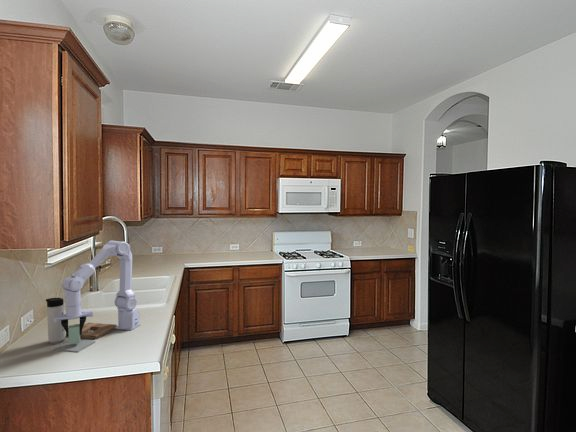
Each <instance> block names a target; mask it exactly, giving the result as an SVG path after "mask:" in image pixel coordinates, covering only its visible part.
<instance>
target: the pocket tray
mask: <svg viewBox="0 0 576 432" xmlns="http://www.w3.org/2000/svg"><path fill="white" fill-rule="evenodd" d="M117 326H118V324H112V323H111V324H110V323H99V322H87V323H84V326H83V329H82V335H80V339H88V340H90V339H92V340H97V339H99V338H101V337H103V336H104V335H106V334H109V333H110V332H112V331H113V330H115V329H114V328H115V327H117ZM91 330H92V331H91ZM65 338H68V337H67V334H66V333H65Z"/></svg>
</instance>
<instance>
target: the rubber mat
mask: <svg viewBox="0 0 576 432" xmlns="http://www.w3.org/2000/svg"><path fill="white" fill-rule="evenodd" d="M95 343H96V340H86V339H85V340H84V339H80V342H79V343H73V344H69V340H67V341H66V342H64V343H62V344H59V345H58V346H56V347H55V348H53V349H52V350H53V351H59V352H61V351H62V352H69V353H70V352H71V353H72V352H73V353H79V352H81V351H83V350H85V349H86V348H88V347H90V346H92V345H94V344H95Z"/></svg>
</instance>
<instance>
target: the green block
mask: <svg viewBox="0 0 576 432" xmlns="http://www.w3.org/2000/svg"><path fill="white" fill-rule="evenodd" d="M68 332H69V337H68V341H69V344H73V343H79V342H80V340H81V338H80V323H76V324H68Z"/></svg>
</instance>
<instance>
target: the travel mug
mask: <svg viewBox="0 0 576 432" xmlns="http://www.w3.org/2000/svg"><path fill="white" fill-rule="evenodd" d="M45 302H46V314H47V315H46V316H47V318H46V319H47V338H48V340H47V341H48V344H50V345H57V344H60V343H63V342H64V341H66V331H65V329H64V328H63V326H62V325H61V321H58V322H55V323H54V319H53V318H54V317H56V316H61V315H65V308H64V307H65V302H64V298H62V297H51V298H46V299H45Z"/></svg>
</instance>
